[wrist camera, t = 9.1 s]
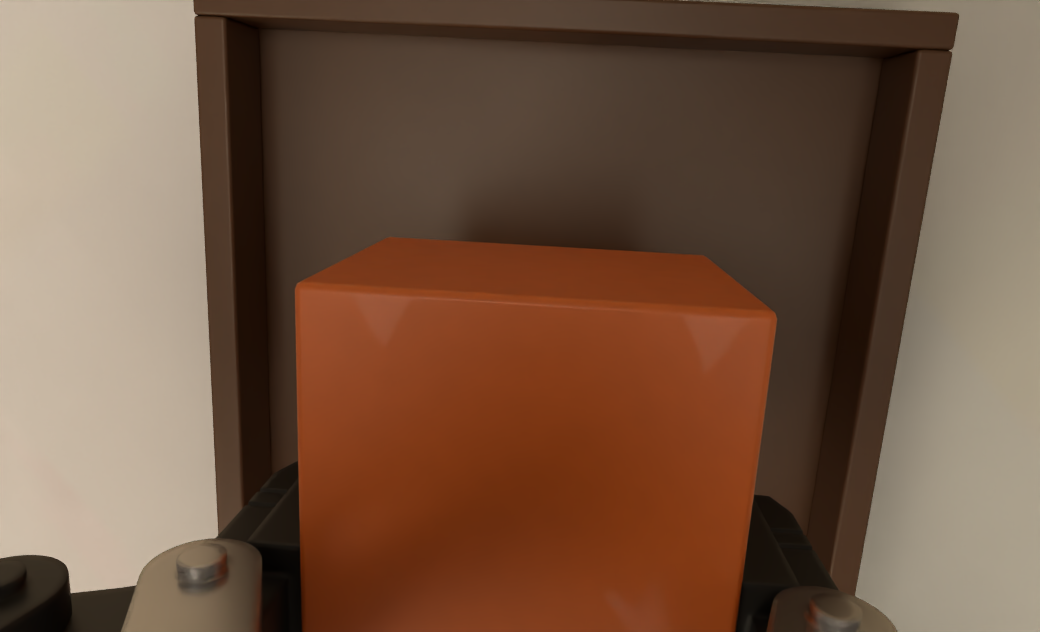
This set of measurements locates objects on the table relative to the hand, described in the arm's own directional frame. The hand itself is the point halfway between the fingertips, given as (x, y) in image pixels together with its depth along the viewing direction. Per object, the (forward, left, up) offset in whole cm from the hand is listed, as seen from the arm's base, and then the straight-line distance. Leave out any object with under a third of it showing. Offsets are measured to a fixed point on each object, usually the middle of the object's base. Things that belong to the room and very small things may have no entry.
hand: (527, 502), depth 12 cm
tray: (0, 0, -4) cm, 5 cm away
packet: (0, 0, 0) cm, 0 cm away
